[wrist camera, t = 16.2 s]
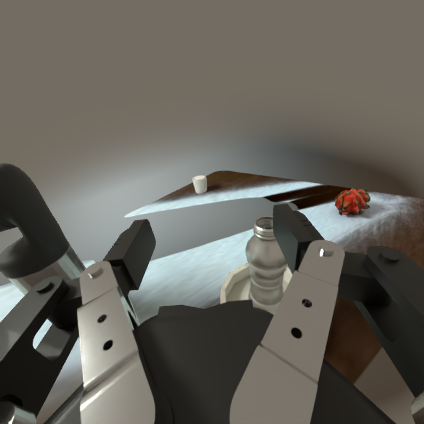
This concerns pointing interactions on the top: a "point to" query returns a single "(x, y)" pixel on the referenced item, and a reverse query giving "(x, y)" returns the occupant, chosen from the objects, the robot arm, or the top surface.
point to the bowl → (243, 284)
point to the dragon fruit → (352, 201)
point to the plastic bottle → (265, 266)
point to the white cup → (200, 183)
